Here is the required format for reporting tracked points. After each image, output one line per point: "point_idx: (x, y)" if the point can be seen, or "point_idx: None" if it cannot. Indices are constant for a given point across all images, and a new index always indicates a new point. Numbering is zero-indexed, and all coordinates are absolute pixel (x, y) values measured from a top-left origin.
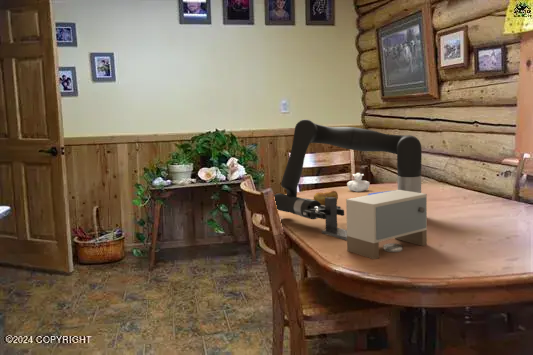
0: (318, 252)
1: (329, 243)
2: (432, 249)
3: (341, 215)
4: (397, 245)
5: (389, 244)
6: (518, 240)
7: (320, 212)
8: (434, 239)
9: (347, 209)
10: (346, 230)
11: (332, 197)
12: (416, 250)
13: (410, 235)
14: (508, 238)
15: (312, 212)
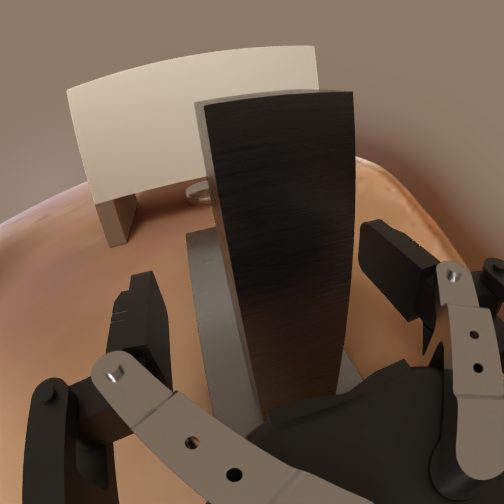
0: (406, 204)
1: None
2: (146, 192)
3: (168, 323)
4: (197, 187)
5: (206, 191)
6: (28, 211)
7: (413, 247)
8: (76, 226)
9: (315, 75)
10: (207, 341)
11: (223, 99)
12: (174, 190)
13: (128, 199)
14: (22, 218)
15: (490, 259)
